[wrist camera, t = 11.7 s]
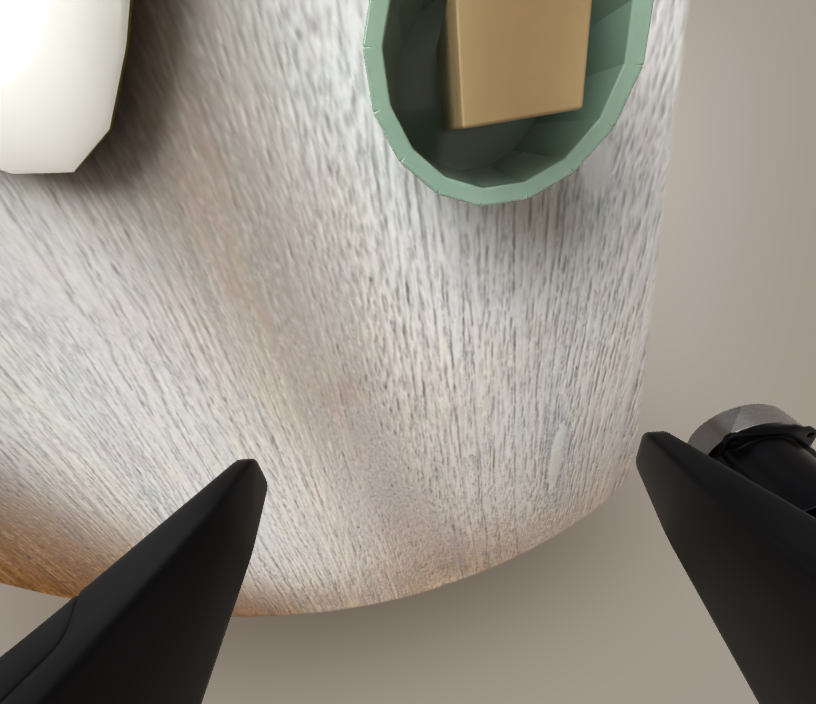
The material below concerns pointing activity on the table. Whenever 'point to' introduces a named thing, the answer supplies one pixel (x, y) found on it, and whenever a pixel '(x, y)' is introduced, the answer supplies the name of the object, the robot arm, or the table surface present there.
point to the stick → (511, 60)
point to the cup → (502, 142)
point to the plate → (59, 80)
